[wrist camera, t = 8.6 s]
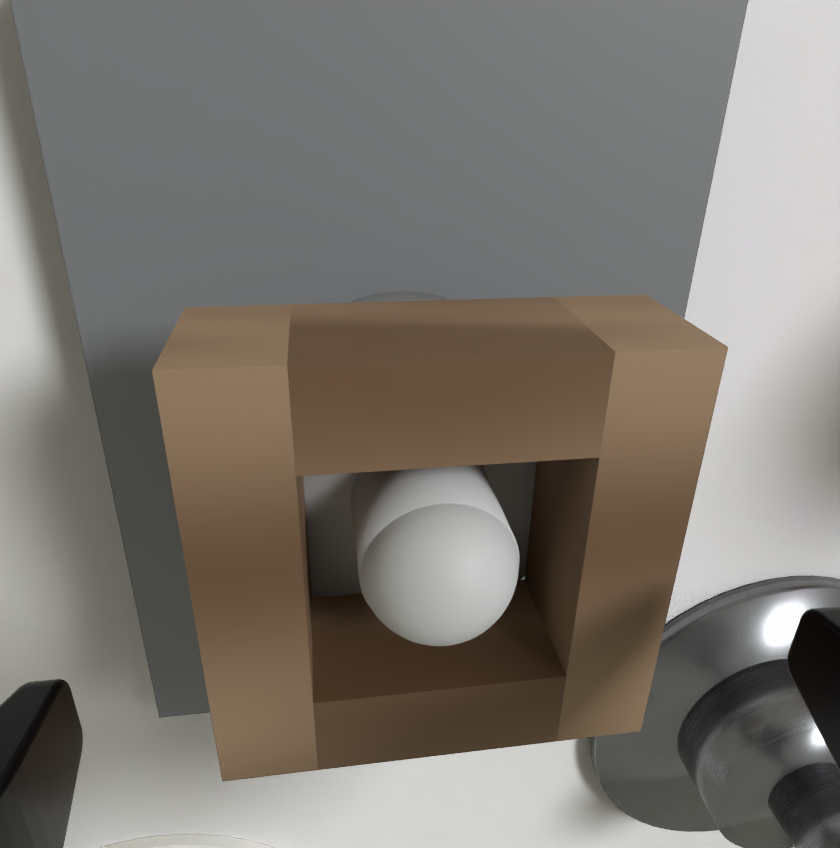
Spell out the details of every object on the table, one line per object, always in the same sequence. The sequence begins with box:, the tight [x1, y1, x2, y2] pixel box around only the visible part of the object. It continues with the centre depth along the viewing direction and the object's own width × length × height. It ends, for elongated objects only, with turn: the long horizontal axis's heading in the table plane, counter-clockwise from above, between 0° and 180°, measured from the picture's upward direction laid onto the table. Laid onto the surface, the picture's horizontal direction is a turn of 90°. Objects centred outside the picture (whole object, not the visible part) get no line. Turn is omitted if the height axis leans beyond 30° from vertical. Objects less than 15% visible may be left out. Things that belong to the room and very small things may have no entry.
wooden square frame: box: [152, 294, 728, 781], centre depth 11 cm, size 7×7×2 cm
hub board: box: [10, 0, 748, 717], centre depth 13 cm, size 16×12×8 cm
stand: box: [590, 576, 840, 848], centre depth 20 cm, size 11×11×6 cm
